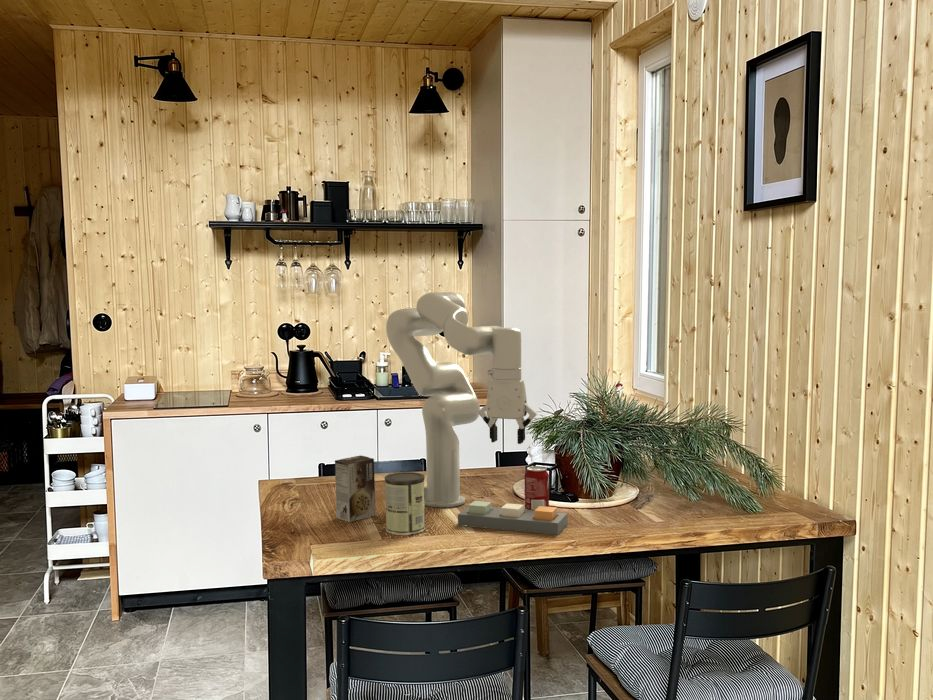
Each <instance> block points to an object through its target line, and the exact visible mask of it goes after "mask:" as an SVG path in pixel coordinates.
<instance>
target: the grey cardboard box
mask: <svg viewBox="0 0 933 700" xmlns="http://www.w3.org/2000/svg"><path fill="white" fill-rule="evenodd" d="M334 474H335V475H334V476H335V477H334V478H335V480H334V481H335V507H336V509H335V510H336V516H335V517H336V519H338V520H342V521H344V520H345V522H347V521H348V523H353V522H356V520H357V521H360V520H363V519H367V517H368V518H371V516H372V517H375V516H376V515H377V513H376V486H375V485H376V482H375V459H374V458H372V457H368V456H365V455H355V456H351V457H346V458H341V459H336V460H334Z"/></svg>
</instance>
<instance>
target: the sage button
mask: <svg viewBox="0 0 933 700" xmlns="http://www.w3.org/2000/svg"><path fill="white" fill-rule="evenodd" d="M492 503H493V502H492V501H484V500H483V501H482V500H480V501H479V500H473V501H472V502H471V503H469V504H468V507H469V513H475V514H486V515H487V514H488V513H489V512H491V511H492V507H493V505H492Z"/></svg>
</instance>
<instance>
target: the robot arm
mask: <svg viewBox="0 0 933 700" xmlns="http://www.w3.org/2000/svg"><path fill="white" fill-rule="evenodd" d="M468 314H469V313H468V312H467V310H466V303H465V299H463V297H462V296H461V295H460V294H459V293H456V292H454V291H452V292H450V291H449V292H448V291H447V292H446V291H445V292H442V291H441V292H440V291H439V292H437V291H436V292H427V293H425V294H423V295H422V296H420V298H419V299H418V300H417V301H416V306H415V307H408V308H400V309H397V310H395V311H393V312H391V313H390V314H389V316H388V317H387V320H386V324H385V325H386V328H385V329H386V337H387V340H388V342H389V344H390V346H391V348H392V349H393V351H394V353H395V354H396V356H398V359H399V360H400V361H401V363H402V365H403V367H404V369H405V371H406V373H407V375H408V377H409V379H410V382H411V384H412V385H413V388H414V389H415V391H416V392H417V393H418V395H420V396H422V397H428V398H427V399H425V400H424V402H423V404H422V409H421V412H422V418H423V424H424V428H425V429H424V430H425V445H426V447H425V448H426V485H424V503H425V506H427V507H432V508H451V507H452V508H453V507H458V506H459V507H460V506H461V505H463V504H465V503H466V497H465V496H463V495H461V489H460V488H461V485H460V484H461V482H460V476H461V475H460V474H461V472H460V440H459V438H458V437H459V436H458V435H457V434H456V432H455V430H454V427H456V426H461V425H466V424H468V425H469V424H471V423H474V422H475V421H477V420H478V419H479V417H481V418H482V420H483V421H484V423H485V424H486V425H487V426H488V427H489V439H490V440H491V443H495V442H497V441H498V426H497V422H498V421H499V420H498V419H503V420H515V421H516V423H517V425H518V428H517V430H516V431H517V444H518V445H522V444H523V443H524V441H525V440H526V428H527V427H528V425H529V424H531V422H532V421H533V420H534V419H535V418H536V417H537V416H538V414H537V413H536V411H534V410H533V408H532V407H530V406H529V405H528V401H527V392H526V391H527V390H526V386H525V385H526V383H525V381H524V379H522V332H521V330H520V329H518V328H517V327H503V326H499V325H484V326H479V325H478V326H467V325H468V323H469V315H468ZM442 332H443V335H444V339H445V341H446V342H447V344H448V345H449V346H450V347H451V348H453V349H455V351H458V352H459V353H461V354H463V355H467V356H479V355H492V368H491V369H488V370H487V375H488V376H491V378H492V379H490V380H489V381H488V388H487V393H486V404H485V405H484V406H483V407H481V406H480V402H479V400H478V397H477V394H476V393H475V392H474V389H473V387H472V385H471V383H470V382H469V379H468V378H467V376H466V374H465V372H464V370H463V369H462V368H461V367H460V366H459V365H458V364H456V363H454V362H437V361H435V360H434V359H433V358H432V355H431V353H430V352H429V350H428V349H427V347H426V346H425V345H424V344H423V343H421V342H420V341H419V340H418V339H416V338H415V337H426V336H427V337H429V336H436V335H438V334H441V333H442ZM480 407H481V408H480ZM527 414H528V417H527V418H526V419H525V418H524V417H525V416H527Z"/></svg>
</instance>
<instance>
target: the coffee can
mask: <svg viewBox="0 0 933 700" xmlns="http://www.w3.org/2000/svg"><path fill="white" fill-rule="evenodd" d="M384 485H385V486H384V487H385V488H384V489H385V490H384V493H385V495H384V496H385V527H386V528H385V532H386V533H388V532H389V533H388V534H390V533H392V534H391V535H394V534H414V535H417V534H416V533H418V534H420V532H421V533H423V532H424V530H426V517H425V516H426V512H425V511H426V509H425V506H426V505H425V503H424V487H425V474H422V473H420V472H411V471H406V472H405V471H402V472H393V473H389V474H387V475H385V476H384Z"/></svg>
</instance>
